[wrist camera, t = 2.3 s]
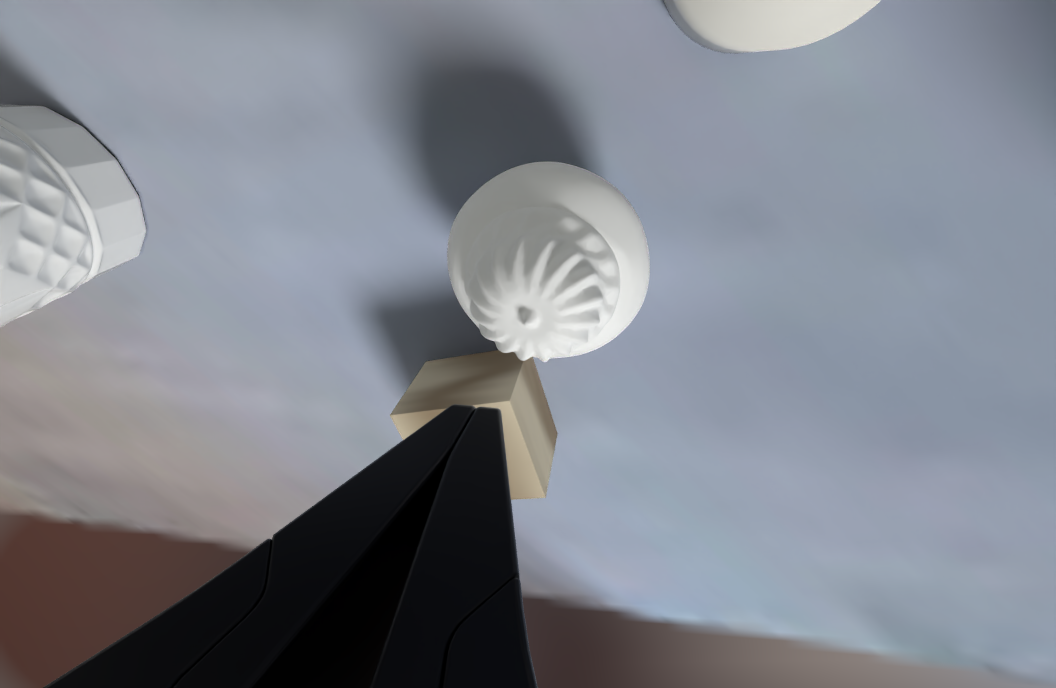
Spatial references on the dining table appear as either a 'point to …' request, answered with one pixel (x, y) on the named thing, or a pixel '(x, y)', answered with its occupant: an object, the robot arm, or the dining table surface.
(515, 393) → the maple block
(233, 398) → the dining table surface
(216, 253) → the dining table surface
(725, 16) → the white rounded lump
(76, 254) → the white cup
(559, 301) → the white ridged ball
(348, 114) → the dining table surface
